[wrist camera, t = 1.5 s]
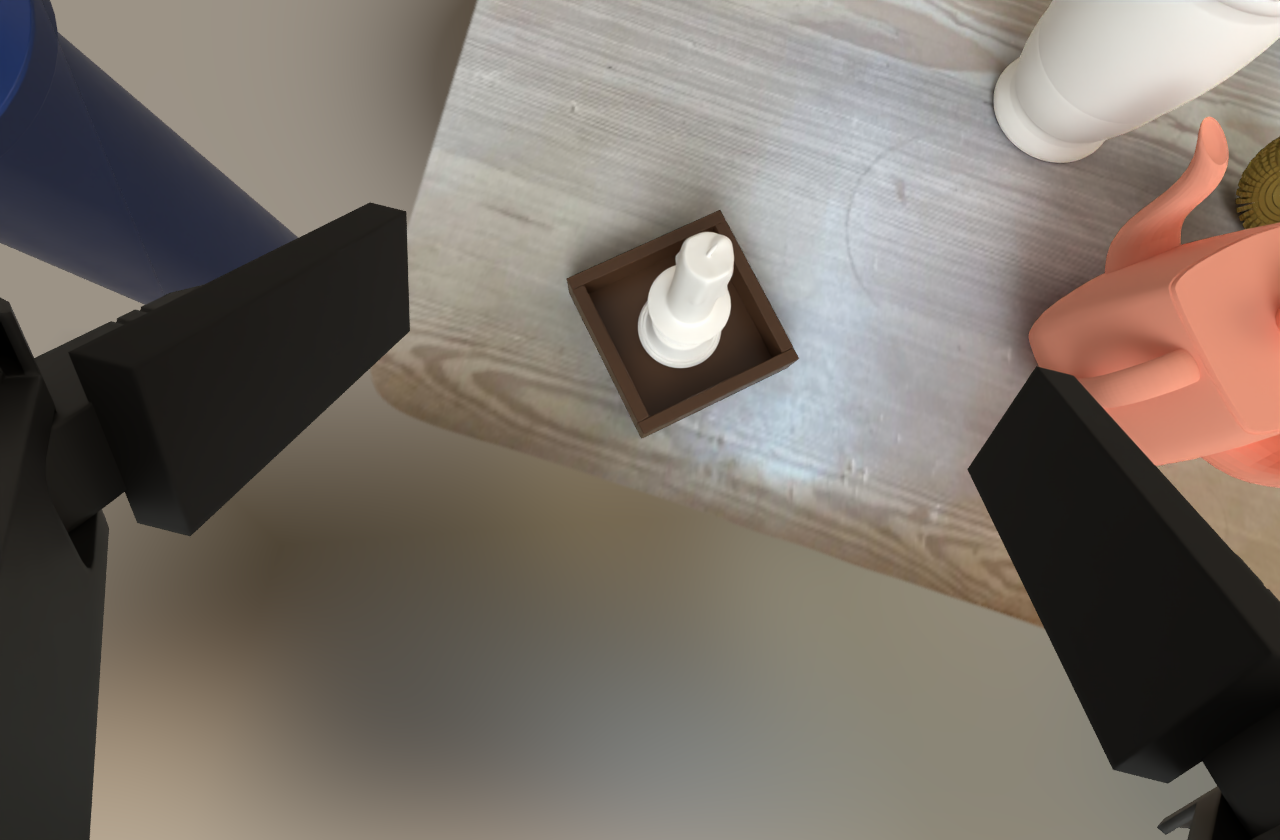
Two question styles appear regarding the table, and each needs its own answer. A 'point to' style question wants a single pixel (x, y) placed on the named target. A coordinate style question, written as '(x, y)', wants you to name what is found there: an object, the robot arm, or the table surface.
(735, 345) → the tray
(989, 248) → the table surface
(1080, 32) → the jar
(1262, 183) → the sculpture
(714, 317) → the candle
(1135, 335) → the teapot
